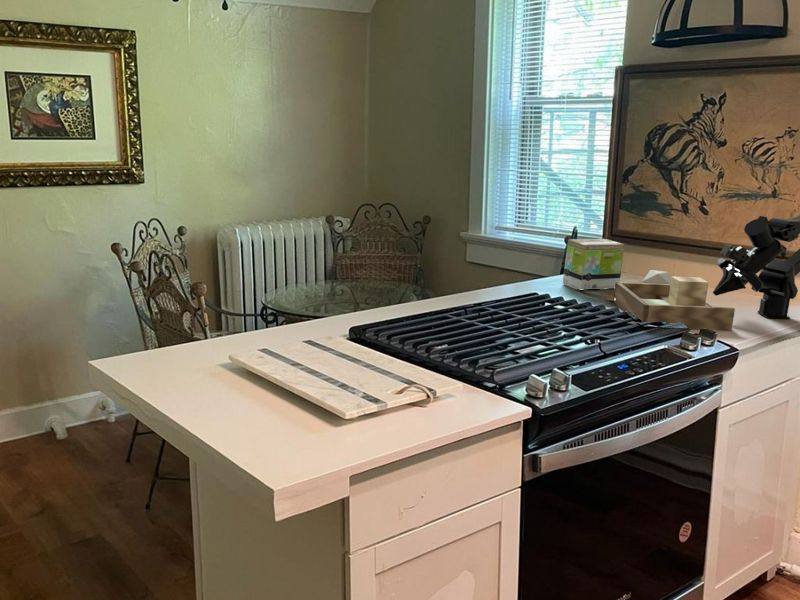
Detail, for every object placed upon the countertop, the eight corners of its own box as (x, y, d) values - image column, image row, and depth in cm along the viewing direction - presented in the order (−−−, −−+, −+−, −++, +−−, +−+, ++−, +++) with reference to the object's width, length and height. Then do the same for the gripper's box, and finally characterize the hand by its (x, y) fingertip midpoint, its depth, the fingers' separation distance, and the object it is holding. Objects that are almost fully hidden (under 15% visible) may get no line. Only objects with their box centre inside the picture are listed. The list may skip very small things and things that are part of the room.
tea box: (581, 292, 240) (586, 244, 236) (561, 284, 249) (566, 238, 245) (620, 289, 246) (625, 243, 243) (599, 282, 255) (604, 237, 251)
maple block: (696, 303, 219) (699, 277, 218) (704, 309, 214) (708, 282, 212) (667, 302, 219) (671, 276, 217) (675, 307, 213) (679, 281, 211)
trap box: (693, 305, 230) (695, 285, 229) (731, 330, 205) (735, 308, 203) (613, 301, 229) (615, 281, 228) (641, 327, 204) (644, 305, 202)
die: (673, 298, 239) (659, 269, 242) (681, 290, 231) (667, 260, 234) (647, 308, 239) (634, 278, 242) (654, 300, 231) (640, 270, 233)
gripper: (727, 229, 221) (684, 266, 223) (758, 241, 203) (710, 280, 205) (751, 258, 223) (707, 293, 225) (783, 272, 205) (735, 311, 207)
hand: (714, 294), depth 216 cm, fingers closed
